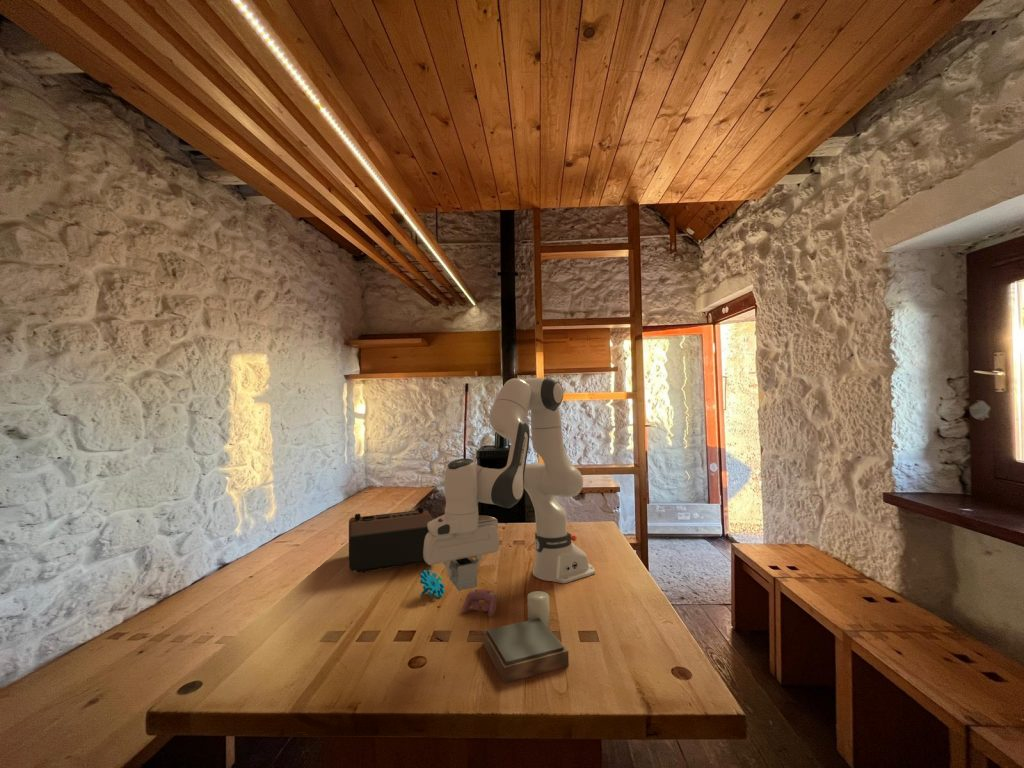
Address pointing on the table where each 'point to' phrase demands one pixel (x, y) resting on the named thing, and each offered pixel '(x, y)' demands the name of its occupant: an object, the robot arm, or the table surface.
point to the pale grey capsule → (539, 607)
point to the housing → (464, 573)
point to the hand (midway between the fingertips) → (462, 574)
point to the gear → (432, 584)
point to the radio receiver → (387, 540)
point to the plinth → (524, 649)
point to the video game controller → (482, 595)
